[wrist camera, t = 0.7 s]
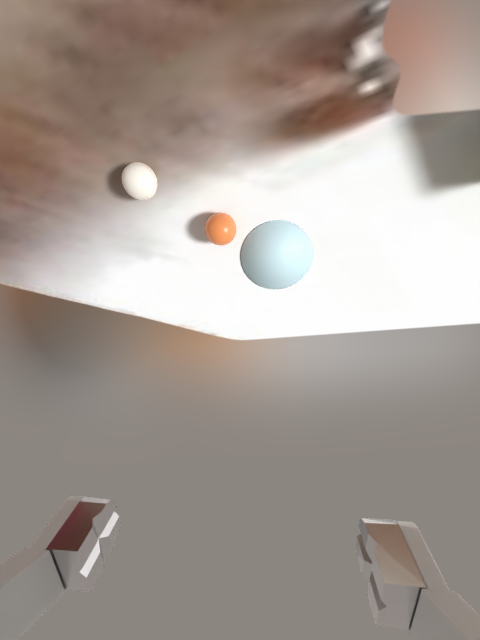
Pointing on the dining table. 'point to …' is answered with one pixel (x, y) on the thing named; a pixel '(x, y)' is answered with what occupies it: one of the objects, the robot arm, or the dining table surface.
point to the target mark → (276, 254)
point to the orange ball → (220, 229)
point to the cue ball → (139, 181)
